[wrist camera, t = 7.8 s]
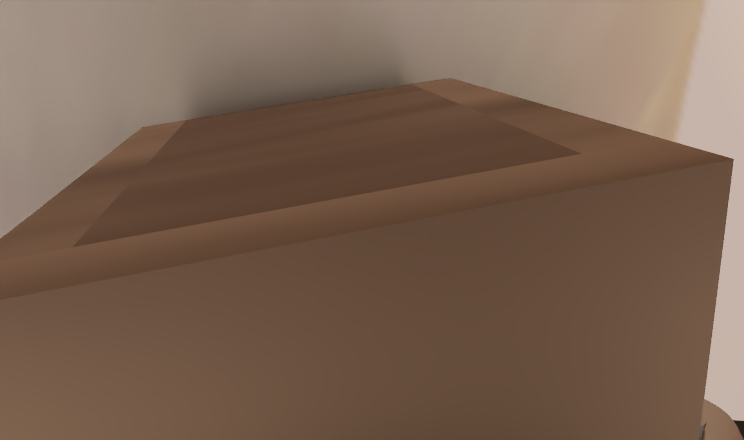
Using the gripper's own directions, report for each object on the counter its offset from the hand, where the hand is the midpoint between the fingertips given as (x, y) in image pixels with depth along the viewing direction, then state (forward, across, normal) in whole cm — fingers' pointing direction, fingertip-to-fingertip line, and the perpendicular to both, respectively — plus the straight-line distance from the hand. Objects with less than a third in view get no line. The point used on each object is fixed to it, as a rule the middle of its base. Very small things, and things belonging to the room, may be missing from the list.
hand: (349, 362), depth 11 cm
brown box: (+2, 0, 0) cm, 2 cm away
